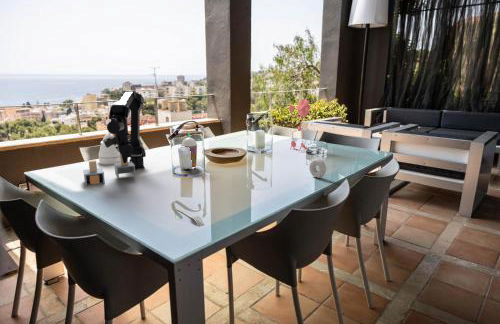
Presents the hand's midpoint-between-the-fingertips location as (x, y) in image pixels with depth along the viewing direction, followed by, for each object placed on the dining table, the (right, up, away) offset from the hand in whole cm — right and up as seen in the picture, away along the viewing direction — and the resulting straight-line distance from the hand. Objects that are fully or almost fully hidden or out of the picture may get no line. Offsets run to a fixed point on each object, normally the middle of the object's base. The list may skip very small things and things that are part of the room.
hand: (124, 162), depth 166 cm
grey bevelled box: (0, -6, +2) cm, 6 cm away
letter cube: (-12, -10, -4) cm, 16 cm away
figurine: (+97, +8, +71) cm, 120 cm away
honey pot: (-20, 0, +35) cm, 40 cm away
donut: (+95, -8, +7) cm, 96 cm away
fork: (+39, -20, -41) cm, 60 cm away
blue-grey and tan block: (-12, -9, -4) cm, 16 cm away
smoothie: (+28, -4, +21) cm, 35 cm away
